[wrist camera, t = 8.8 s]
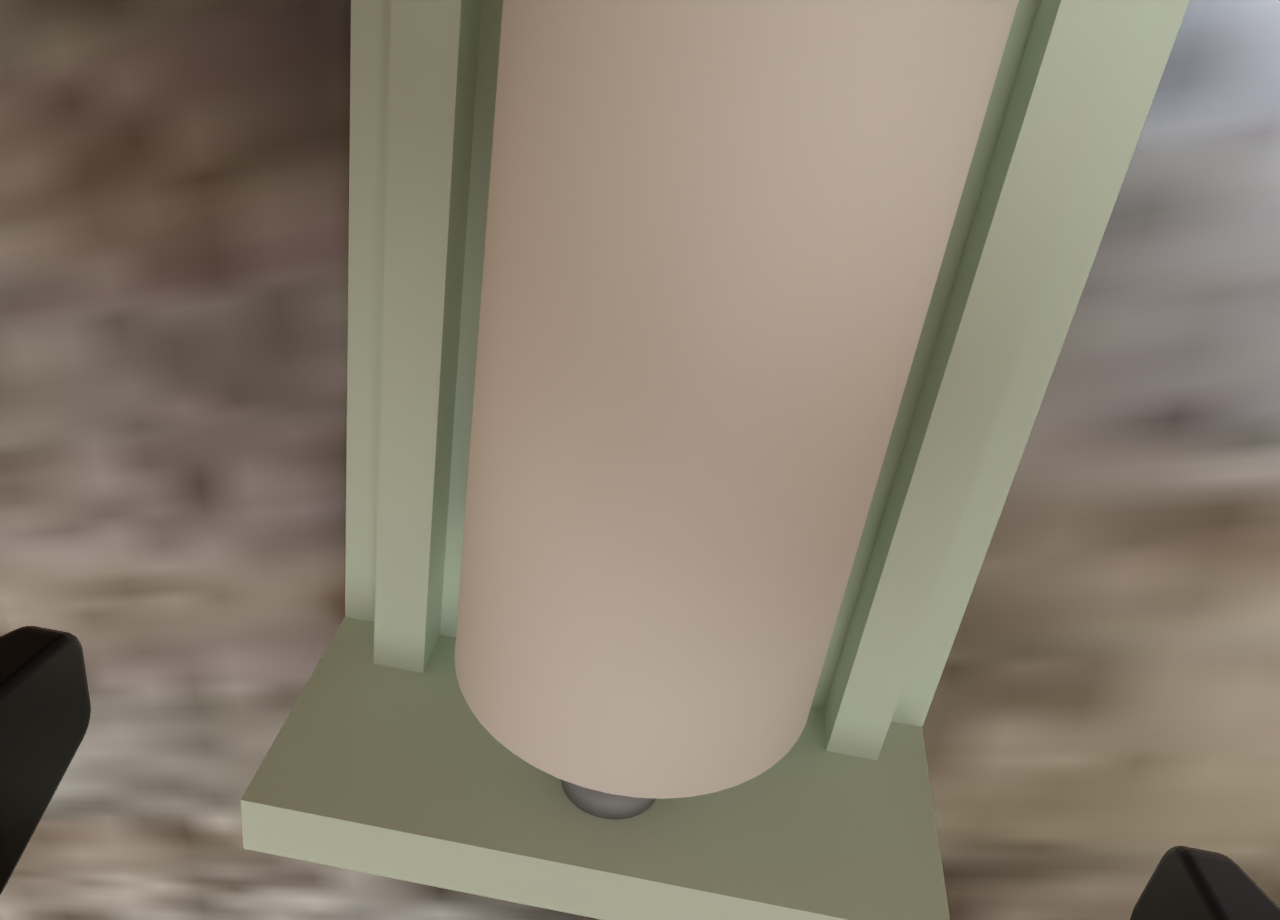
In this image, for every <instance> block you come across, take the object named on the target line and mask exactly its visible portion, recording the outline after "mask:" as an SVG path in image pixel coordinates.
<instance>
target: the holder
mask: <svg viewBox="0 0 1280 920" xmlns="http://www.w3.org/2000/svg"><path fill="white" fill-rule="evenodd" d="M1189 1H1190V0H1019V2H1018V5H1017V8H1016V12H1015V15H1014V19H1013V22H1012V25H1011V29H1010V32H1009V36H1008V39H1007V42H1006V46H1005V49H1004V53H1003V56H1002V59H1001V63H1000V66H999V70H998V73H997V76H996V80H995V83H994V87H993V90H992V93H991V97H990V100H989V104H988V107H987V110H986V114H985V117H984V121H983V124H982V127H981V131H980V134H979V138H978V141H977V144H976V148H975V151H974V155H973V158H972V161H971V165H970V168H969V172H968V175H967V178H966V182H965V185H964V189H963V192H962V195H961V199H960V202H959V206H958V209H957V212H956V216H955V219H954V222H953V226H952V229H951V233H950V236H949V239H948V243H947V246H946V250H945V253H944V256H943V260H942V263H941V267H940V270H939V273H938V277H937V280H936V284H935V287H934V290H933V294H932V297H931V301H930V304H929V307H928V311H927V314H926V318H925V321H924V324H923V328H922V331H921V335H920V338H919V341H918V345H917V348H916V352H915V355H914V358H913V362H912V365H911V369H910V372H909V375H908V379H907V382H906V386H905V389H904V392H903V396H902V399H901V403H900V406H899V409H898V413H897V416H896V420H895V423H894V426H893V430H892V433H891V437H890V440H889V443H888V447H887V450H886V454H885V457H884V460H883V464H882V467H881V471H880V474H879V477H878V481H877V484H876V488H875V491H874V494H873V498H872V501H871V505H870V508H869V511H868V515H867V518H866V522H865V525H864V528H863V532H862V535H861V539H860V542H859V545H858V549H857V552H856V556H855V559H854V562H853V566H852V569H851V573H850V576H849V579H848V583H847V586H846V590H845V593H844V596H843V600H842V603H841V607H840V610H839V613H838V617H837V620H836V624H835V627H834V630H833V634H832V637H831V641H830V644H829V647H828V651H827V654H826V658H825V661H824V664H823V668H822V671H821V675H820V678H819V681H818V685H817V688H816V692H815V695H814V698H813V702H812V705H811V709H810V712H809V715H808V719H807V722H806V725H805V727H804V729H803V731H802V733H801V735H800V737H799V739H798V740H797V742H796V743H795V744H794V746H793V747H792V748H791V749H790V751H789V752H788V753H787V754H786V755H785V756H784V757H783V758H782V759H780V760H779V761H778V762H777V763H776V764H775V765H774V766H772V767H771V768H769V769H768V770H766V771H765V772H763V773H761V774H760V775H758V776H757V777H755V778H753V779H750V780H748V781H746V782H744V783H742V784H739V785H737V786H734V787H731V788H728V789H724V790H721V791H718V792H715V793H710V794H704V795H698V796H693V797H683V798H667V799H657V798H635V797H628V796H621V795H614V794H608V793H604V792H600V791H596V790H592V789H588V788H584V787H581V786H578V785H575V784H573V783H570V782H567V781H564V780H561V779H559V778H556V777H554V776H552V775H550V774H548V773H546V772H544V771H542V770H540V769H538V768H536V767H534V766H532V765H531V764H529V763H527V762H526V761H524V760H523V759H521V758H519V757H518V756H516V755H515V754H513V753H512V752H511V751H509V750H508V749H507V748H506V747H505V746H503V745H502V744H501V743H500V742H498V741H497V740H496V739H495V738H494V737H493V736H492V735H491V734H490V733H489V732H488V731H487V730H486V729H485V728H484V727H483V726H482V725H481V723H480V722H479V721H478V719H477V718H476V716H475V715H474V714H473V712H472V711H471V709H470V708H469V706H468V704H467V702H466V700H465V698H464V696H463V694H462V692H461V690H460V686H459V683H458V679H457V676H456V670H455V659H454V656H455V642H456V629H457V615H458V602H459V588H460V575H461V561H462V548H463V534H464V521H465V507H466V494H467V480H468V467H469V453H470V440H471V426H472V413H473V399H474V386H475V373H476V359H477V346H478V332H479V319H480V305H481V292H482V278H483V265H484V251H485V238H486V224H487V211H488V197H489V184H490V170H491V157H492V143H493V130H494V117H495V103H496V90H497V76H498V63H499V49H500V36H501V22H502V9H503V0H351V57H350V159H349V261H348V363H347V465H346V567H345V618H344V620H343V621H342V623H341V625H340V627H339V628H338V630H337V632H336V634H335V635H334V637H333V639H332V641H331V642H330V644H329V646H328V648H327V649H326V651H325V653H324V655H323V656H322V658H321V660H320V662H319V663H318V665H317V667H316V669H315V670H314V672H313V674H312V676H311V677H310V679H309V681H308V683H307V684H306V686H305V688H304V690H303V692H302V693H301V695H300V697H299V699H298V700H297V702H296V704H295V706H294V707H293V709H292V711H291V713H290V714H289V716H288V718H287V720H286V721H285V723H284V725H283V727H282V728H281V730H280V732H279V734H278V735H277V737H276V739H275V741H274V742H273V744H272V746H271V748H270V749H269V751H268V753H267V755H266V757H265V758H264V760H263V762H262V764H261V765H260V767H259V769H258V771H257V772H256V774H255V776H254V778H253V779H252V781H251V783H250V785H249V786H248V788H247V790H246V792H245V793H244V795H243V797H242V799H241V813H242V831H243V848H244V849H248V850H253V851H258V852H263V853H268V854H273V855H279V856H284V857H289V858H294V859H299V860H304V861H309V862H314V863H319V864H324V865H329V866H334V867H339V868H344V869H349V870H354V871H359V872H364V873H369V874H374V875H379V876H384V877H389V878H394V879H399V880H404V881H409V882H414V883H420V884H425V885H430V886H435V887H440V888H445V889H450V890H455V891H460V892H465V893H470V894H475V895H480V896H485V897H490V898H495V899H500V900H505V901H510V902H515V903H520V904H525V905H530V906H535V907H540V908H545V909H550V910H555V911H561V912H566V913H571V914H576V915H581V916H586V917H591V918H596V919H601V920H950V915H949V908H948V902H947V895H946V888H945V881H944V874H943V867H942V860H941V853H940V846H939V840H938V833H937V826H936V819H935V812H934V805H933V798H932V791H931V784H930V778H929V771H928V764H927V757H926V750H925V743H924V736H923V729H922V726H923V724H924V721H925V718H926V715H927V713H928V710H929V707H930V705H931V702H932V699H933V696H934V694H935V691H936V688H937V686H938V683H939V680H940V677H941V675H942V672H943V669H944V667H945V664H946V661H947V658H948V656H949V653H950V650H951V648H952V645H953V642H954V639H955V637H956V634H957V631H958V629H959V626H960V623H961V620H962V618H963V615H964V612H965V610H966V607H967V604H968V601H969V599H970V596H971V593H972V591H973V588H974V585H975V582H976V580H977V577H978V574H979V572H980V569H981V566H982V563H983V561H984V558H985V555H986V552H987V550H988V547H989V544H990V542H991V539H992V536H993V533H994V531H995V528H996V525H997V523H998V520H999V517H1000V514H1001V512H1002V509H1003V506H1004V504H1005V501H1006V498H1007V495H1008V493H1009V490H1010V487H1011V485H1012V482H1013V479H1014V476H1015V474H1016V471H1017V468H1018V466H1019V463H1020V460H1021V457H1022V455H1023V452H1024V449H1025V447H1026V444H1027V441H1028V438H1029V436H1030V433H1031V430H1032V428H1033V425H1034V422H1035V419H1036V417H1037V414H1038V411H1039V408H1040V406H1041V403H1042V400H1043V398H1044V395H1045V392H1046V389H1047V387H1048V384H1049V381H1050V379H1051V376H1052V373H1053V370H1054V368H1055V365H1056V362H1057V360H1058V357H1059V354H1060V351H1061V349H1062V346H1063V343H1064V341H1065V338H1066V335H1067V332H1068V330H1069V327H1070V324H1071V322H1072V319H1073V316H1074V313H1075V311H1076V308H1077V305H1078V303H1079V300H1080V297H1081V294H1082V292H1083V289H1084V286H1085V284H1086V281H1087V278H1088V275H1089V273H1090V270H1091V267H1092V265H1093V262H1094V259H1095V256H1096V254H1097V251H1098V248H1099V245H1100V243H1101V240H1102V237H1103V235H1104V232H1105V229H1106V226H1107V224H1108V221H1109V218H1110V216H1111V213H1112V210H1113V207H1114V205H1115V202H1116V199H1117V197H1118V194H1119V191H1120V188H1121V186H1122V183H1123V180H1124V178H1125V175H1126V172H1127V169H1128V167H1129V164H1130V161H1131V159H1132V156H1133V153H1134V150H1135V148H1136V145H1137V142H1138V140H1139V137H1140V134H1141V131H1142V129H1143V126H1144V123H1145V121H1146V118H1147V115H1148V112H1149V110H1150V107H1151V104H1152V102H1153V99H1154V96H1155V93H1156V91H1157V88H1158V85H1159V82H1160V80H1161V77H1162V74H1163V72H1164V69H1165V66H1166V63H1167V61H1168V58H1169V55H1170V53H1171V50H1172V47H1173V44H1174V42H1175V39H1176V36H1177V34H1178V31H1179V28H1180V25H1181V23H1182V20H1183V17H1184V15H1185V12H1186V9H1187V6H1188V4H1189Z"/></svg>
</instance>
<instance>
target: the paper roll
mask: <svg viewBox="0 0 1280 920" xmlns="http://www.w3.org/2000/svg"><path fill="white" fill-rule="evenodd" d="M1018 2H1019V0H503V9H502V22H501V36H500V49H499V63H498V76H497V90H496V103H495V117H494V130H493V143H492V157H491V170H490V184H489V197H488V211H487V224H486V238H485V251H484V265H483V278H482V292H481V305H480V319H479V332H478V346H477V359H476V373H475V386H474V399H473V413H472V426H471V440H470V453H469V467H468V480H467V494H466V507H465V521H464V534H463V548H462V561H461V575H460V588H459V602H458V615H457V629H456V642H455V656H454V659H455V670H456V676H457V679H458V683H459V686H460V690H461V692H462V694H463V696H464V698H465V700H466V702H467V704H468V706H469V708H470V709H471V711H472V712H473V714H474V715H475V716H476V718H477V719H478V721H479V722H480V723H481V725H482V726H483V727H484V728H485V729H486V730H487V731H488V732H489V733H490V734H491V735H492V736H493V737H494V738H495V739H496V740H497V741H498V742H500V743H501V744H502V745H503V746H505V747H506V748H507V749H508V750H509V751H511V752H512V753H513V754H515V755H516V756H518V757H519V758H521V759H523V760H524V761H526V762H527V763H529V764H531V765H532V766H534V767H536V768H538V769H540V770H542V771H544V772H546V773H548V774H550V775H552V776H554V777H556V778H559V779H561V780H564V781H567V782H570V783H573V784H575V785H578V786H581V787H584V788H588V789H592V790H596V791H600V792H604V793H608V794H614V795H621V796H628V797H635V798H657V799H667V798H683V797H693V796H698V795H704V794H710V793H715V792H718V791H721V790H724V789H728V788H731V787H734V786H737V785H739V784H742V783H744V782H746V781H748V780H750V779H753V778H755V777H757V776H758V775H760V774H761V773H763V772H765V771H766V770H768V769H769V768H771V767H772V766H774V765H775V764H776V763H777V762H778V761H779V760H780V759H782V758H783V757H784V756H785V755H786V754H787V753H788V752H789V751H790V749H791V748H792V747H793V746H794V744H795V743H796V742H797V740H798V739H799V737H800V735H801V733H802V731H803V729H804V727H805V725H806V722H807V719H808V715H809V712H810V709H811V705H812V702H813V698H814V695H815V692H816V688H817V685H818V681H819V678H820V675H821V671H822V668H823V664H824V661H825V658H826V654H827V651H828V647H829V644H830V641H831V637H832V634H833V630H834V627H835V624H836V620H837V617H838V613H839V610H840V607H841V603H842V600H843V596H844V593H845V590H846V586H847V583H848V579H849V576H850V573H851V569H852V566H853V562H854V559H855V556H856V552H857V549H858V545H859V542H860V539H861V535H862V532H863V528H864V525H865V522H866V518H867V515H868V511H869V508H870V505H871V501H872V498H873V494H874V491H875V488H876V484H877V481H878V477H879V474H880V471H881V467H882V464H883V460H884V457H885V454H886V450H887V447H888V443H889V440H890V437H891V433H892V430H893V426H894V423H895V420H896V416H897V413H898V409H899V406H900V403H901V399H902V396H903V392H904V389H905V386H906V382H907V379H908V375H909V372H910V369H911V365H912V362H913V358H914V355H915V352H916V348H917V345H918V341H919V338H920V335H921V331H922V328H923V324H924V321H925V318H926V314H927V311H928V307H929V304H930V301H931V297H932V294H933V290H934V287H935V284H936V280H937V277H938V273H939V270H940V267H941V263H942V260H943V256H944V253H945V250H946V246H947V243H948V239H949V236H950V233H951V229H952V226H953V222H954V219H955V216H956V212H957V209H958V206H959V202H960V199H961V195H962V192H963V189H964V185H965V182H966V178H967V175H968V172H969V168H970V165H971V161H972V158H973V155H974V151H975V148H976V144H977V141H978V138H979V134H980V131H981V127H982V124H983V121H984V117H985V114H986V110H987V107H988V104H989V100H990V97H991V93H992V90H993V87H994V83H995V80H996V76H997V73H998V70H999V66H1000V63H1001V59H1002V56H1003V53H1004V49H1005V46H1006V42H1007V39H1008V36H1009V32H1010V29H1011V25H1012V22H1013V19H1014V15H1015V12H1016V8H1017V5H1018Z"/></svg>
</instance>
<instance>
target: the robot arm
mask: <svg viewBox="0 0 1280 920" xmlns="http://www.w3.org/2000/svg"><path fill="white" fill-rule="evenodd" d="M90 711H91V707H90V698H89V691H88V684H87V678H86V671H85V664H84V657H83V650H82V646H81V643H80V642H79V640H78V639H77V637H76V636H74V635H72V634H70V633H67V632H62V631H57V630H52V629H46V628H41V627H36V626H26V627H21V628H19V629H16V630H14V631H11V632H9V633H7V634H5V635H3V636H1V637H0V894H1V893H2V891H3V889H4V887H5V886H6V884H7V882H8V880H9V878H10V877H11V875H12V873H13V871H14V869H15V867H16V865H17V863H18V862H19V860H20V858H21V856H22V854H23V852H24V850H25V848H26V846H27V844H28V842H29V841H30V839H31V837H32V835H33V833H34V831H35V829H36V827H37V825H38V823H39V822H40V820H41V818H42V816H43V814H44V812H45V810H46V808H47V806H48V804H49V802H50V801H51V799H52V797H53V795H54V793H55V791H56V789H57V787H58V785H59V783H60V782H61V780H62V778H63V776H64V774H65V772H66V770H67V768H68V766H69V764H70V762H71V761H72V759H73V757H74V755H75V753H76V751H77V749H78V747H79V745H80V743H81V741H82V740H83V737H84V735H85V733H86V730H87V727H88V724H89V719H90ZM1130 920H1280V908H1279V907H1278V906H1277V905H1276V904H1275V903H1274V902H1273V901H1272V900H1271V899H1270V898H1269V897H1268V896H1267V895H1266V894H1265V893H1264V892H1263V891H1262V890H1261V889H1260V888H1259V887H1258V886H1257V885H1256V883H1255V882H1254V881H1253V880H1252V879H1251V878H1250V877H1249V876H1248V875H1247V874H1246V873H1245V872H1244V871H1243V870H1242V869H1241V868H1240V867H1239V866H1238V865H1237V864H1236V863H1235V862H1234V861H1232V860H1231V859H1230V858H1228V857H1227V856H1225V855H1222V854H1220V853H1216V852H1210V851H1205V850H1200V849H1195V848H1190V847H1185V846H1175V847H1173V848H1171V849H1170V850H1168V851H1167V852H1166V853H1165V854H1164V856H1163V857H1162V859H1161V861H1160V862H1159V864H1158V866H1157V868H1156V870H1155V871H1154V873H1153V875H1152V877H1151V878H1150V880H1149V882H1148V884H1147V886H1146V887H1145V889H1144V891H1143V893H1142V894H1141V896H1140V898H1139V900H1138V902H1137V903H1136V905H1135V907H1134V909H1133V912H1132V915H1131V919H1130Z"/></svg>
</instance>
